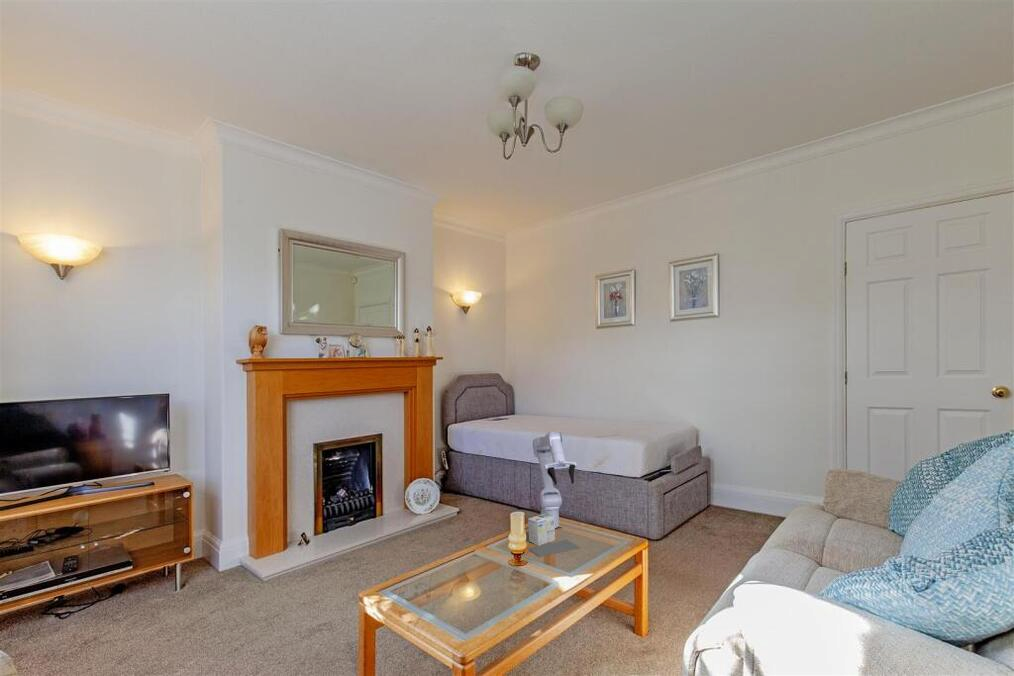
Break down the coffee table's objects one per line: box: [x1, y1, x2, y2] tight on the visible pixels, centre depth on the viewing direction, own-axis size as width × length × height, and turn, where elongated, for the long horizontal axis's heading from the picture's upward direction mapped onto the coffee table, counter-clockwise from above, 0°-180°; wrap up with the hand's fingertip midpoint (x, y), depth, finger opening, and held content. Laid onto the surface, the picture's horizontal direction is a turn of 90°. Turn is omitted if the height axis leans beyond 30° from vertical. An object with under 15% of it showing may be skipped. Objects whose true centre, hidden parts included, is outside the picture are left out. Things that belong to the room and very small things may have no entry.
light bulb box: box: [527, 514, 556, 546], centre depth 216 cm, size 11×7×11 cm, turn 130°
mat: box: [527, 539, 581, 558], centre depth 206 cm, size 11×20×1 cm, turn 115°
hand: (564, 483), depth 211 cm, fingers open, 7 cm apart
